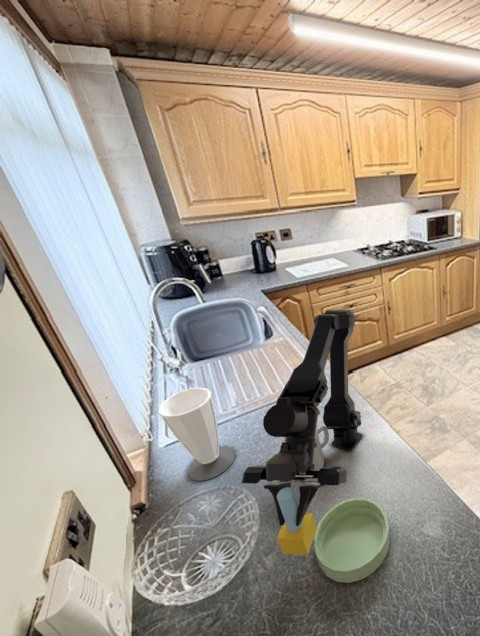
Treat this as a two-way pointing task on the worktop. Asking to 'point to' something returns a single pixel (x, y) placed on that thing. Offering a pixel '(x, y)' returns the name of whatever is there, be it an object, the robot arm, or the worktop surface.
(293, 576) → the worktop surface
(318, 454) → the mug
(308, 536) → the sponge wand
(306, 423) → the robot arm
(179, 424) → the cup
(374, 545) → the bowl
